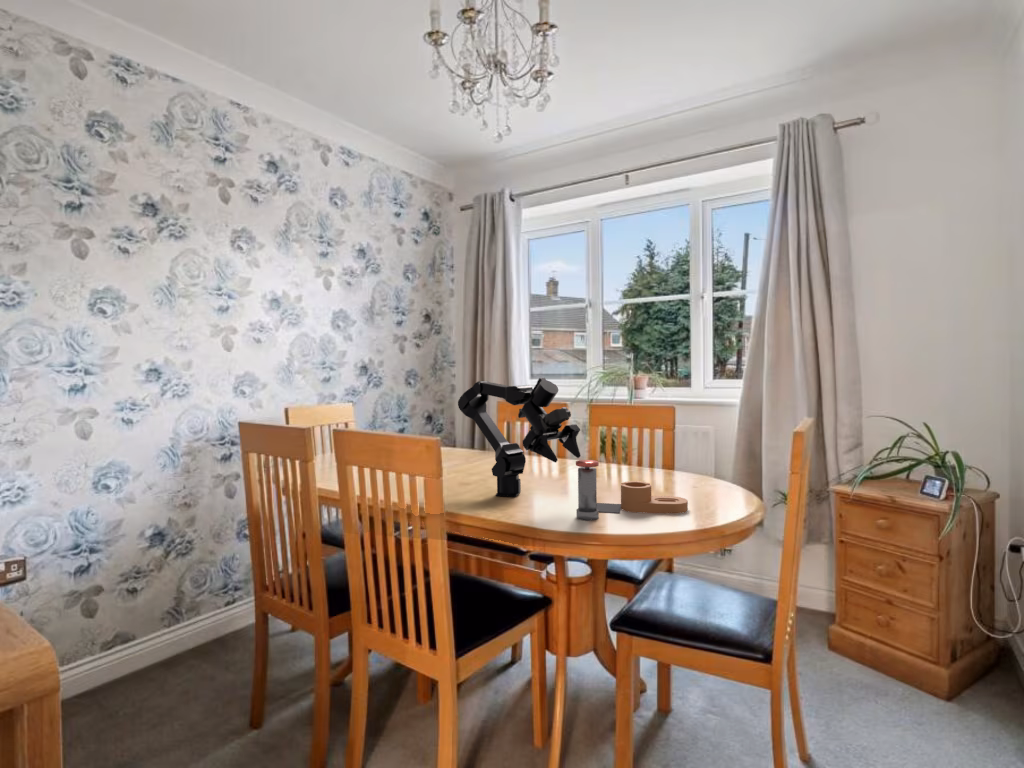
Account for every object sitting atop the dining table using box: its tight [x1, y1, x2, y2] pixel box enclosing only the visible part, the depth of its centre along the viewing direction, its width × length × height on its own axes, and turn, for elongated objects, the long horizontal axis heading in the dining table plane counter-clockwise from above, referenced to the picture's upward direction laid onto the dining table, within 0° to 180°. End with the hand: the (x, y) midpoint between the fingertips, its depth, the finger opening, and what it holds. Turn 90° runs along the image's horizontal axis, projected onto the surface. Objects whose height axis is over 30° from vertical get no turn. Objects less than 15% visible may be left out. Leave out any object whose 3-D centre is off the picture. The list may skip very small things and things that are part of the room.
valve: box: [575, 459, 600, 522], centre depth 149 cm, size 6×6×15 cm
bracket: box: [620, 480, 689, 514], centre depth 157 cm, size 18×8×7 cm, turn 82°
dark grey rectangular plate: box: [597, 502, 622, 514], centre depth 158 cm, size 7×9×1 cm
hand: (568, 459), depth 155 cm, fingers open, 9 cm apart
